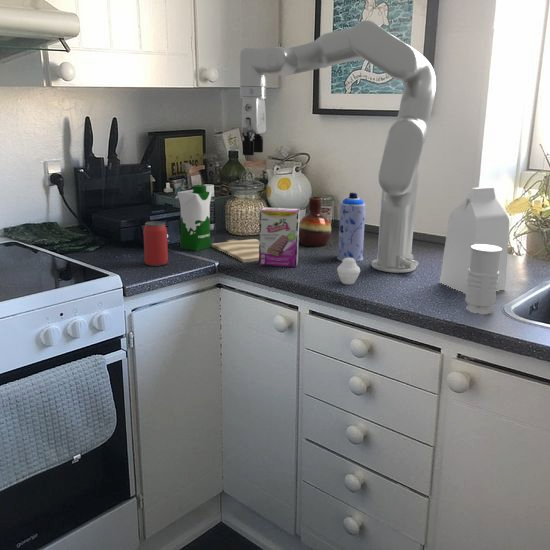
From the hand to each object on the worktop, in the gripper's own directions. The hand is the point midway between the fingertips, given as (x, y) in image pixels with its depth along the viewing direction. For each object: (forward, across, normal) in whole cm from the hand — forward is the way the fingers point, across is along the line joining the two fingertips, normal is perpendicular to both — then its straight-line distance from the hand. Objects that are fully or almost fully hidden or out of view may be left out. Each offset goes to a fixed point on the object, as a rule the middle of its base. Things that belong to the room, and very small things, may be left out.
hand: (253, 153), depth 183 cm
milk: (+31, -15, -64) cm, 73 cm away
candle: (+31, -34, -65) cm, 80 cm away
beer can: (+31, -19, +23) cm, 43 cm away
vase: (+31, +20, -15) cm, 40 cm away
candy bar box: (+31, -9, -11) cm, 34 cm away
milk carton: (+31, +2, +20) cm, 37 cm away
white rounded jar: (+31, -21, -32) cm, 50 cm away
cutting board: (+31, +4, +3) cm, 31 cm away
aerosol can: (+31, +4, -30) cm, 43 cm away
